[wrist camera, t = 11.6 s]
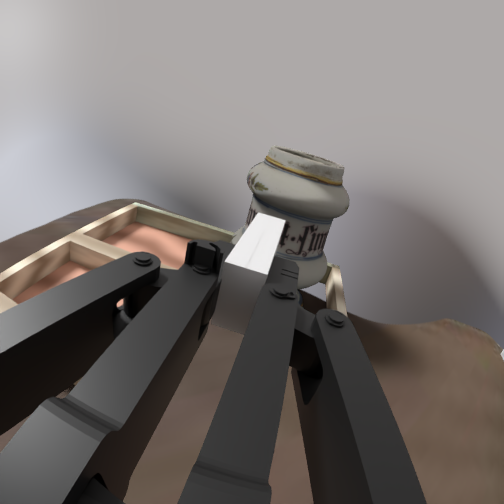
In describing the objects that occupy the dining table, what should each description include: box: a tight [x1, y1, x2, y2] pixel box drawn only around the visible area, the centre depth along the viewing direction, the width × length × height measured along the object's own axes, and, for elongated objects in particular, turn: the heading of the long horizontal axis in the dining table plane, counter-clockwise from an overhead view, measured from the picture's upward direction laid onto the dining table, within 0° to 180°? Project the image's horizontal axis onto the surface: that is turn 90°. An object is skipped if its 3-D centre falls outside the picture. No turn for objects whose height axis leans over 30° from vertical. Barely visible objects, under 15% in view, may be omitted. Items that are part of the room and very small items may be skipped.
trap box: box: [0, 202, 347, 386], centre depth 33 cm, size 32×34×3 cm
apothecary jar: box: [230, 146, 349, 307], centre depth 36 cm, size 12×12×18 cm
